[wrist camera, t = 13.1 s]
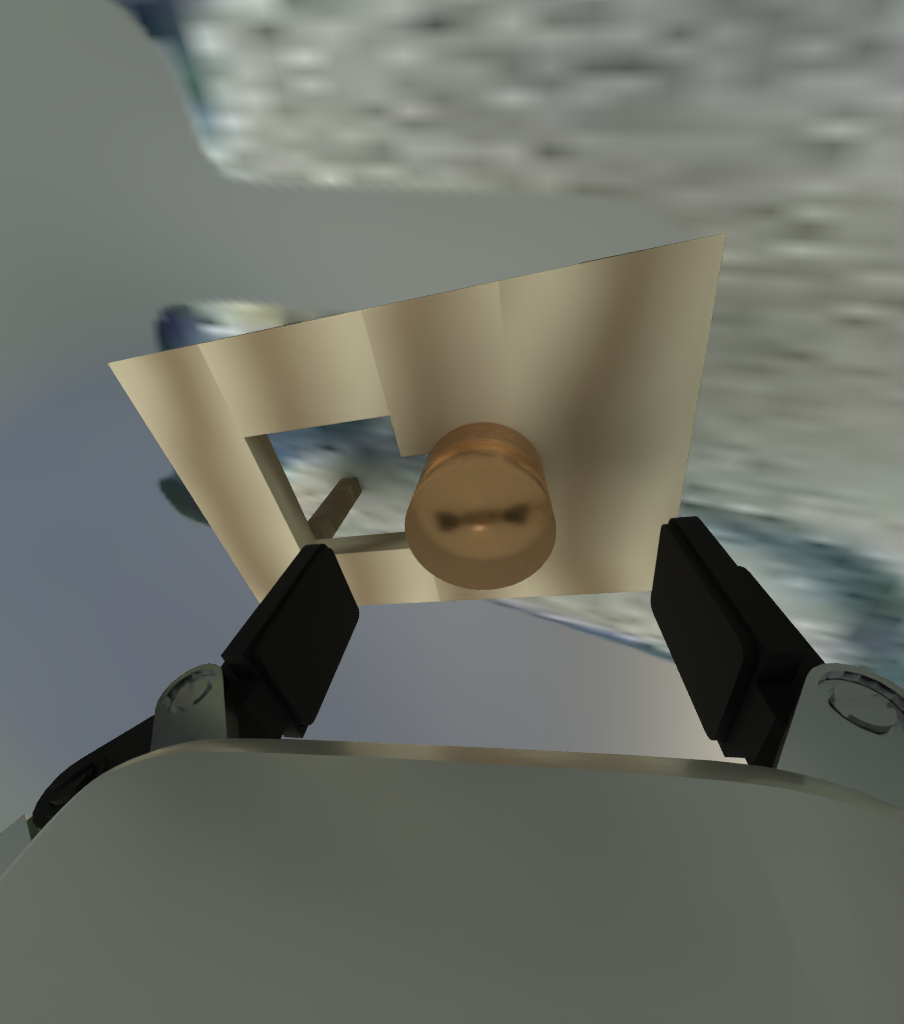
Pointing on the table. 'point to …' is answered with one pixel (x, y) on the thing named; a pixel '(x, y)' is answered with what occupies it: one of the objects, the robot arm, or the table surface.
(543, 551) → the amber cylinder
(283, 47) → the table surface
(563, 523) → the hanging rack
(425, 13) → the table surface
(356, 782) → the robot arm
